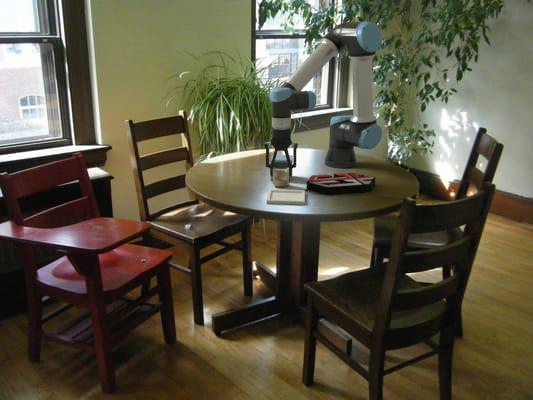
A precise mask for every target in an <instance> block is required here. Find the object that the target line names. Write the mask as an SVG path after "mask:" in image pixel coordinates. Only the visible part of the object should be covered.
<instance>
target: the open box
mask: <svg viewBox="0 0 533 400" xmlns="http://www.w3.org/2000/svg"><path fill="white" fill-rule="evenodd" d="M273 155H274V154H272V155H271V158H270V163H271V162H272V158H273ZM289 157H290V161H291V164H293V154H292V155H291V154H289ZM273 168H275V169H287V168H289V167H288V163H287V159H286V155H285V154H277V155H276V159H275V163H274V166H273ZM271 180H273V176H270V181H271ZM292 181H293V175H292V176H291V177H289V182H292Z"/></svg>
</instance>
